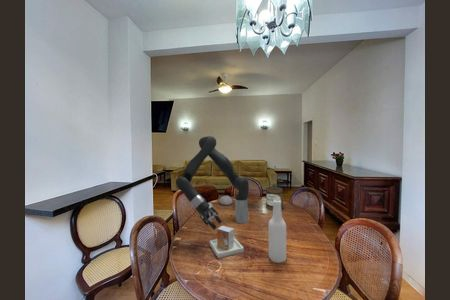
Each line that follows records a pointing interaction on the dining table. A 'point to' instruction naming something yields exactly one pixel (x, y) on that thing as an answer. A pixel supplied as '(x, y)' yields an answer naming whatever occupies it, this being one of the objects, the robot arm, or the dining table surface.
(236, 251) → the tray
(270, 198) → the clear glass jar
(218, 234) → the small box
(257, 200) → the dining table surface
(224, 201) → the sea urchin shell
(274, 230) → the alcohol
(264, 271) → the dining table surface
